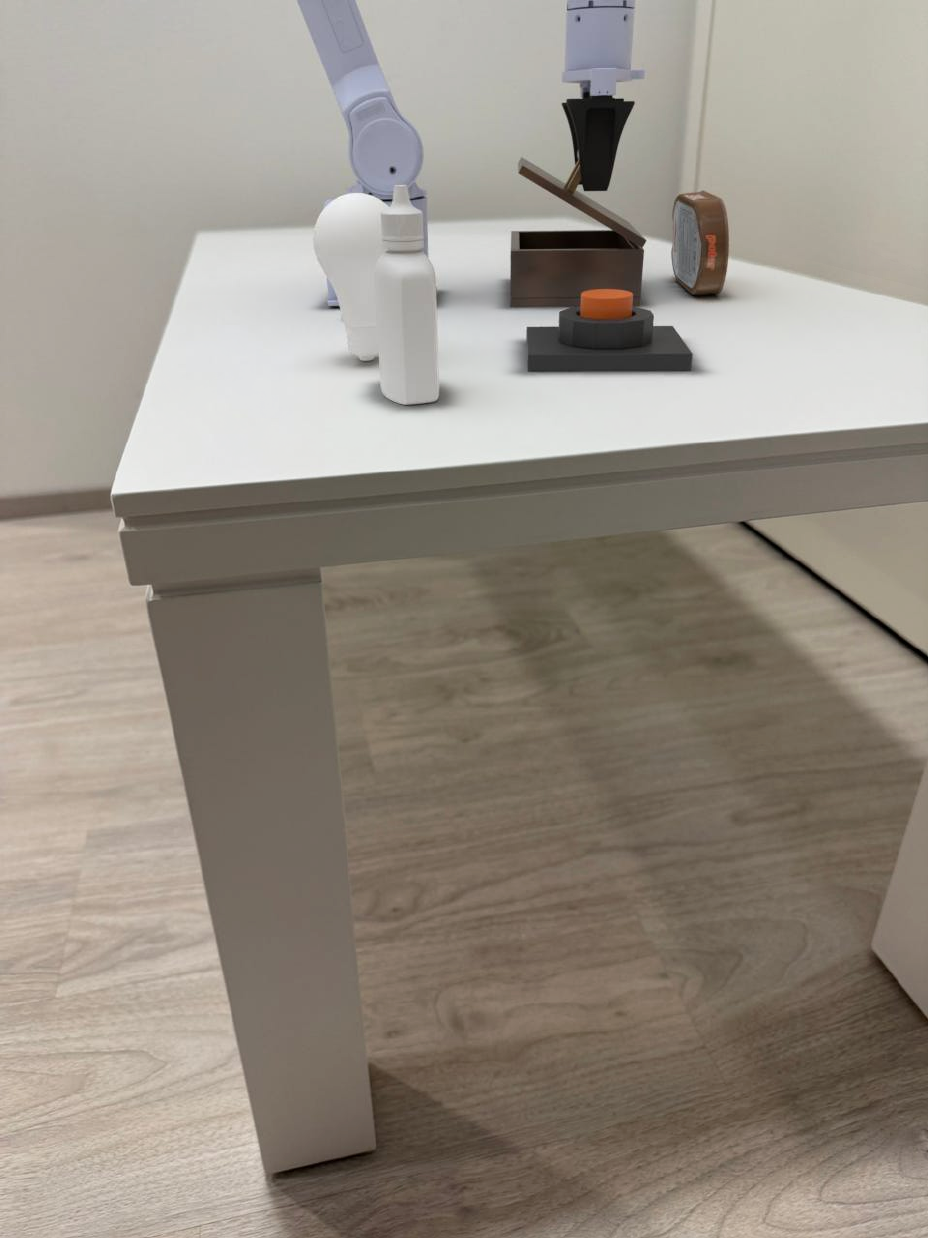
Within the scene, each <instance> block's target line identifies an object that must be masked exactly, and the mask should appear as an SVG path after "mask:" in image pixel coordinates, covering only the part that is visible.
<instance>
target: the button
mask: <svg viewBox="0 0 928 1238" xmlns="http://www.w3.org/2000/svg"><path fill="white" fill-rule="evenodd" d="M632 303H633V293H631V292H629V291H624V290H616V289H596V290H588V291H585V292H582V293H581V306H580V316H581V317H585V318H592V319H622V318H629V317H632Z"/></svg>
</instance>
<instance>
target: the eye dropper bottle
mask: <svg viewBox="0 0 928 1238" xmlns="http://www.w3.org/2000/svg"><path fill="white" fill-rule="evenodd" d="M381 227H382V246H383V249H387V251H385V252H384V253H383V255H382V256H381V257H380V258H379V259H378V261H377V263H376V265H375V270H374V280H375V299H376V317H377V334H378V351H379V354H378V365H379V366H378V367H379V383H380V390H381V393H382V395H383V396H384V397H385V398H387V399H388V400H390V401H392V402H394V403H396V404H400V405H403V406H404V405H405V406H412V405H420V404H421V405H422V404H430V403H434V402H436V401H437V400H438V399H439V397H440V372H439V370H440V369H439V367H440V365H439V338H438V337H439V333H438V305H437V303H438V302H437V291H436V287H437V278H436V277H437V276H436V271H435V268H434V265H433V263H432V262H431V260H430V258H428V257H429V256H428V257H427V256H426V255H425V254H424V252H423V251H422V250H419V249H421V248H423V247H424V239H423V238H424V235H423V212H422V211H420V210H418V209H417V208H415V207H413V206H412V204H411V202H410V199H409V194H408V189H407V185H395V186H394V193H393V201H392V204H391V206H390V207H389V208H388V209H386V210H384V211H383V212H382V213H381Z"/></svg>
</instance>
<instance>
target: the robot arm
mask: <svg viewBox="0 0 928 1238" xmlns="http://www.w3.org/2000/svg"><path fill="white" fill-rule="evenodd" d="M296 2H297V5H298V7H299V10H300V12H301V14H302V17H303V19H304V22H305V24H306V27H307V29H308V32H309V35H310V38H311V39H312V42H313V44H314V47H315V49H316V52H317V54H318V57H319V58H320V61H321V64H322V67H323V69H324V71H325V74H326V77H327V79H328V82H329V84H330V86H331V89H332V92H333V95H334V97H335V99H336V102H337V105H338V108H339V109H340V112H341V115H342V117H343V119H344V122H345V125H346V128H347V133H348V149H347V150H348V161H349V164H350V168H351V170H352V173H353V174H354V176H355V178H356V180H355V182H354V183H353V185H351V186H350V187H347V188H346V190H345V195H346V194H350V193H364V194H368V195H371V196H374V197H376V198H378V199H380V200H381V201H382V202H384V203H385V204H386V205H388V206H389V207H390V206H391V204H392V201H393V193H394V186H395V185H407V189H408V194H409V199H410V202H411V204H412V206H413V207H415V208H417V209H418V210H420V211H422V212H423V235H424V238H423V239H424V247H423V248H421V249H419V250H422V251H423V252H424V254H425V255H426V256H427V257H428V258H429V229H428V199H427V198H428V197H427V189H425V188H422V187H420V186H418V184H417V183H416V181H417V179H418V177H419V176H420V174H421V171H422V168H423V166H424V165H423V164H424V158H425V155H424V145H423V141H422V139H421V136H420V134H419V132H418V130H417V129H416V127H415V126H414V125H413V123H412V122H410V121H409V120H408V119H407V118H406V117H405V116H404V115H403V113H402V112H401V111H400V110H399V108H398V105H397V104H396V102H395V100H394V96H393V94H392V90H391V89H390V86H389V84H388V81H387V79H386V77H385V75H384V72H383V70H382V68H381V65H380V61H379V60H378V57H377V54H376V53H375V52H376V51H375V49H374V47H373V43H372V41H371V39H370V36H369V34H368V33H369V32H368V30H367V28H366V25H365V23H364V19H363V17H362V15H361V11H360V9H359V6H358V4H357V1H356V0H296ZM635 8H636V0H566V13H565V15H566V16H565V17H566V18H565V45H564V46H565V50H564V71H562V73H561V82H562V83H564V84H579V90H580V91H579V97H580V98H566V99H565V101H566V102H561V106H562V109H563V112H564V114H565V118H566V119H567V122H568V127H569V130H570V135H571V141H572V148H573V159H574V166H575V165H576V163H577V161H578V160H579V162H580V173H581V181H580V183H579V185H578V186H582V189H583V191H584V192H608V189H609V187H610V183H611V180H612V176H613V170H614V166H615V162H616V156H617V153H618V148H619V144H620V140H621V137H622V134H623V131H624V128H625V126H626V123H627V122H628V119H629V117H630V115H631V113H632V111H633V109H634V106H635V104H636V101H635V100H625V98H622V97H621V98H615V97H613V96H616V95H617V83H625V82H632V81H634V80H644V79H645V74H646V73H645V72H646V70H645V69H632V60H633V59H632V57H633V42H634V26H635V10H636V9H635ZM578 150H579V159H578V157H577V151H578ZM335 199H336V198H328V199H326V200H325V201H324V204H323V209H324V208H325V207H326V206H327V205H328V204H329V203H330V202H331V201H333V200H335ZM323 209H322V210H323ZM429 259H430V258H429ZM326 284H327V286H326V287H327V298H328V299H327V301H326V303H327V306H328V307H340V306H339V302H338V298H337V296H336V293H335V291H334V289H333V286H332V284H331V283H330V281H329V280H328V278H327V277H326ZM437 291H438V287H437V286H436V292H437Z"/></svg>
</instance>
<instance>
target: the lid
mask: <svg viewBox="0 0 928 1238" xmlns="http://www.w3.org/2000/svg"><path fill="white" fill-rule="evenodd" d="M577 157H578V159H579V150H578V151H577ZM517 170H518V172H517V173H518V175H520V176H522V177H524V178H525V179H527V180H528V181H530V182H532V183H534V184H535V185H537V186H539V187H540V188H541V189H544V190H545V191H547V192H549V193H550V194H552V195H554V196H555V197H557V198H559V199H560V200H562V201H564V202H565V203H567V204H568V205H570V206H571V207H573V208H575V209H577V210H578V211H580V212H582V213H584V214H585V215H587V217H590V218H591V219H593V220H595V221H597V222H598V223H600V224H601V225H603V226H605V227H607V228H608V229H609V230H613V231H615V232H617V233H618V234H620V235H622V236H623V237H625V238H627V239H628V240H630V241H632V242H633V243H635V244H636V245H638V246H640V247H641V248H643V249H644V246H645V245H646V243H647V241H648V240H647V239H646V238H645V237H644V236H643V235H642V233H640V232H639V231H638V230H637V229H636V228H635V227H634V226H633V225H632V224H631V223H630V222H629V221H628V220H626V219H624V217H621V216H619V215H618V214H616V213H615V212H613V211H611V210H610V209H608V208H607V207H605V206H603V205H602V204H600V203H598V202H596V201H595V200H593V199H592V198H590V197H588V196H587V195H585V194H584V193H582V192H580V191H579V190H577V188H578V186H580V185H579V183H580V181H581V173H580V162H579V160H578V161H577V163H576V165H575V164H574V167H573V169H572V171H571V172H570V175H569V176H568V178H567V180H566V182H564V181H562V180H561V179H559V178H557V177H556V176H554V175H552V174H550V173H549V172H547V171H546V170H544V169H542V168H540V167H539V166H537V165H536V164H534V163H533V162H531V161H529V160H528V159H526V158H524V157H523V156H521V157H520V158H519V161H518V163H517Z"/></svg>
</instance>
